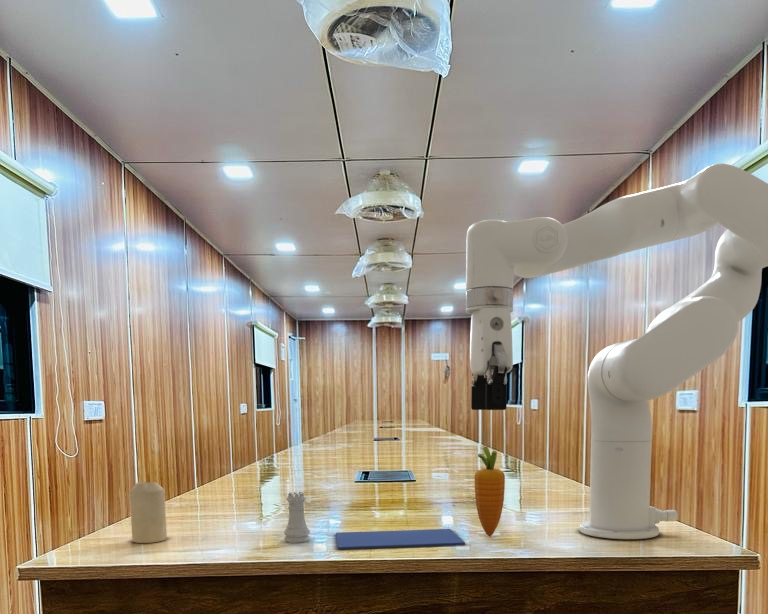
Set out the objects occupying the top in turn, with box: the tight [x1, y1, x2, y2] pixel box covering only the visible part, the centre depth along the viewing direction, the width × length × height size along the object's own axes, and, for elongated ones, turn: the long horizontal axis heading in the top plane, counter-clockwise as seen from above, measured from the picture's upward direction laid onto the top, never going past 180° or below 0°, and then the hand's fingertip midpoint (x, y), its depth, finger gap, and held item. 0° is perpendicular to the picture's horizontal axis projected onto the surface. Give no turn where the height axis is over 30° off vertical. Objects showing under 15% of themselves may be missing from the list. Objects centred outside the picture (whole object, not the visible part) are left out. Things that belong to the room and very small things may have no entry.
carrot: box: [474, 446, 506, 537], centre depth 109 cm, size 5×5×15 cm
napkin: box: [335, 528, 466, 551], centre depth 108 cm, size 20×12×1 cm, turn 96°
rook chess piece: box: [283, 491, 312, 544], centre depth 108 cm, size 4×4×8 cm
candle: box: [129, 480, 168, 544], centre depth 111 cm, size 6×6×10 cm
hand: (488, 409), depth 108 cm, fingers open, 9 cm apart
